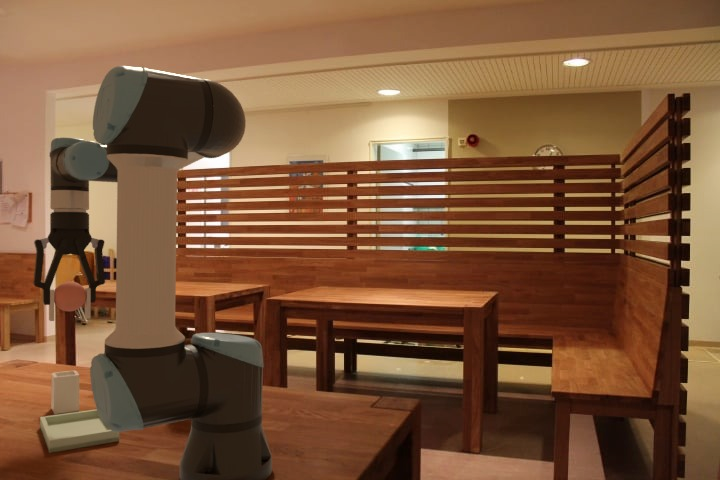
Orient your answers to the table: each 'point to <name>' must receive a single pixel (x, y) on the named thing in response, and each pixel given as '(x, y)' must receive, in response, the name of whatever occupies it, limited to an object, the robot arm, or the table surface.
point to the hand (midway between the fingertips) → (69, 318)
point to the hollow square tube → (65, 392)
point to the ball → (69, 296)
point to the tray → (75, 430)
